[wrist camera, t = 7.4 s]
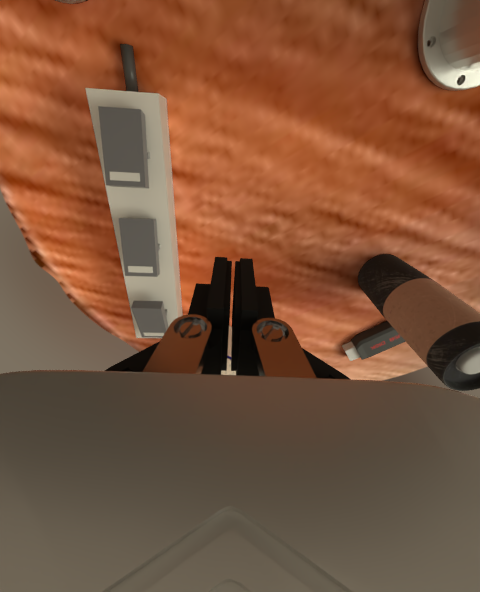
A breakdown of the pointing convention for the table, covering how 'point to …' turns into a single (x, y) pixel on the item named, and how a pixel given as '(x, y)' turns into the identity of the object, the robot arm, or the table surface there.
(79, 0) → the planter
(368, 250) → the table surface
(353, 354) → the usb drive
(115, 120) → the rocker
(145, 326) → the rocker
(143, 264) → the rocker middle
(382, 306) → the travel mug
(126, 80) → the power strip
